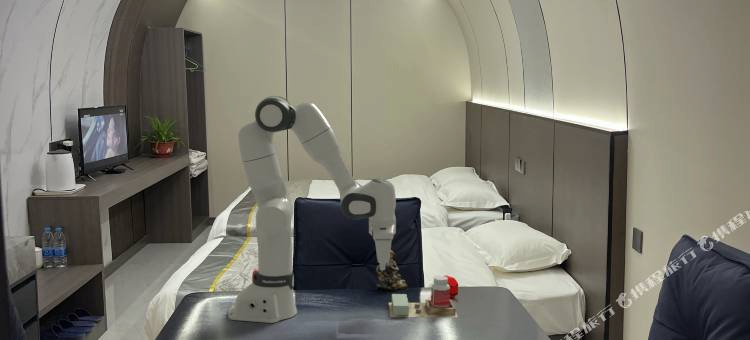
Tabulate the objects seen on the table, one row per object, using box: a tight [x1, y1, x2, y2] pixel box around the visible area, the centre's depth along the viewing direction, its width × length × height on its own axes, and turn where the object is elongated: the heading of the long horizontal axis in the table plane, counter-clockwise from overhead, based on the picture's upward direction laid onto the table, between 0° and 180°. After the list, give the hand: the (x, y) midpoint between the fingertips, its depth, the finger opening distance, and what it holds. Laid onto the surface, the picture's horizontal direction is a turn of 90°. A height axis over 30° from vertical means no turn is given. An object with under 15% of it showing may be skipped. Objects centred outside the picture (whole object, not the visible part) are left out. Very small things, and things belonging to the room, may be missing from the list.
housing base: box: [388, 299, 459, 318], centre depth 226 cm, size 22×14×3 cm, turn 91°
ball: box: [443, 275, 459, 299], centre depth 242 cm, size 8×8×8 cm
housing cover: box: [391, 293, 409, 315], centre depth 225 cm, size 5×12×3 cm, turn 1°
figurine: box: [375, 249, 409, 292], centre depth 249 cm, size 12×11×15 cm
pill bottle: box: [430, 275, 450, 308], centre depth 225 cm, size 6×6×11 cm
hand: (382, 268), depth 224 cm, fingers closed
